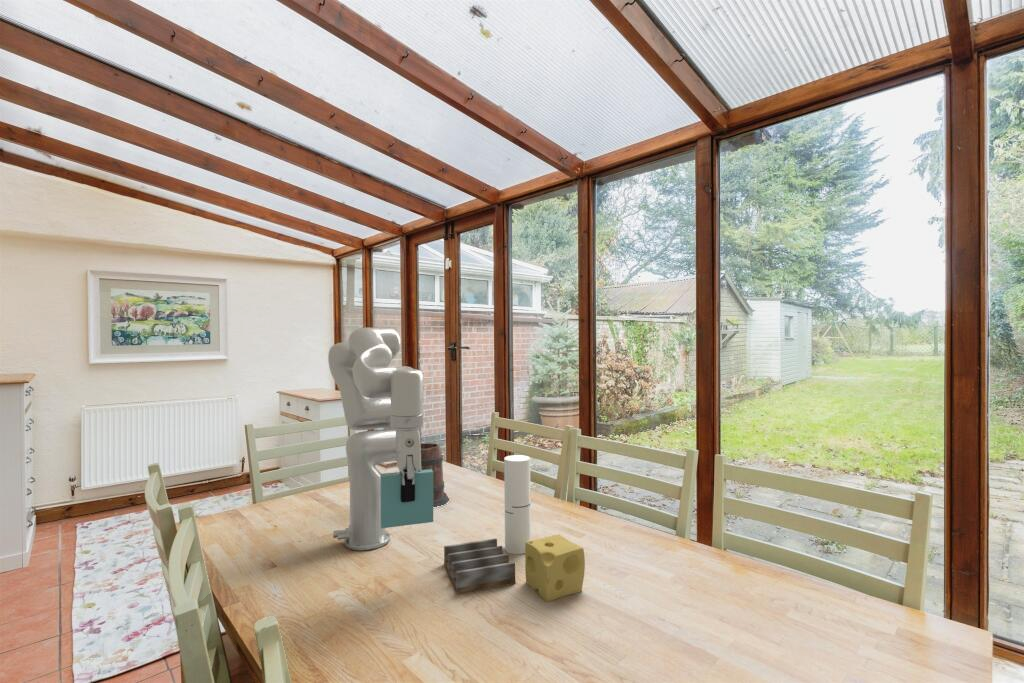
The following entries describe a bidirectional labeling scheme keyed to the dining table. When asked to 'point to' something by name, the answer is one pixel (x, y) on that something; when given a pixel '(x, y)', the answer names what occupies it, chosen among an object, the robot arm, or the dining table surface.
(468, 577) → the rack
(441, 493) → the tankard
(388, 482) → the teal slab
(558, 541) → the cheese
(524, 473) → the cylindrical container
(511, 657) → the dining table surface
